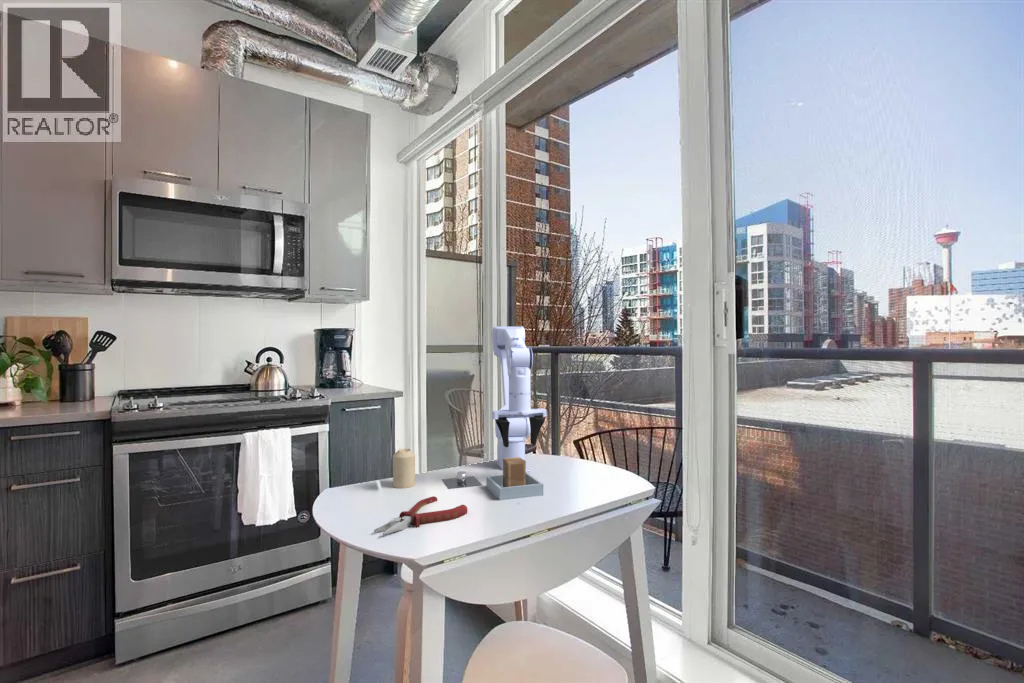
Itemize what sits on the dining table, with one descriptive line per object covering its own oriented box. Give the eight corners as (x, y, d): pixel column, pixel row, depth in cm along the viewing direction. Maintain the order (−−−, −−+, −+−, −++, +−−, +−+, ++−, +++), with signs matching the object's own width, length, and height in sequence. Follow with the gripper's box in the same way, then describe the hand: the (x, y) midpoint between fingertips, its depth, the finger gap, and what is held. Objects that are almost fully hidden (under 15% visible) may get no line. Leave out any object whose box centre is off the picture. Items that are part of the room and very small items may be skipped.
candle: (402, 492, 123) (402, 452, 123) (388, 488, 127) (388, 449, 127) (419, 487, 128) (419, 448, 128) (405, 483, 131) (405, 446, 131)
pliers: (360, 531, 100) (360, 518, 100) (433, 505, 116) (433, 493, 116) (398, 546, 93) (398, 532, 93) (469, 516, 109) (470, 504, 109)
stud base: (441, 482, 132) (441, 469, 132) (473, 479, 135) (473, 467, 135) (448, 492, 124) (448, 478, 124) (482, 488, 127) (482, 475, 127)
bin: (486, 489, 126) (486, 476, 126) (526, 485, 129) (526, 472, 129) (499, 503, 115) (499, 488, 115) (543, 498, 119) (543, 484, 119)
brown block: (502, 490, 124) (502, 458, 123) (519, 488, 125) (519, 457, 125) (508, 495, 119) (508, 462, 119) (525, 493, 121) (525, 461, 121)
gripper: (497, 395, 124) (498, 450, 123) (551, 393, 128) (551, 446, 128) (489, 393, 130) (489, 445, 130) (540, 391, 135) (540, 441, 135)
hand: (519, 445), depth 130 cm, fingers open, 7 cm apart
